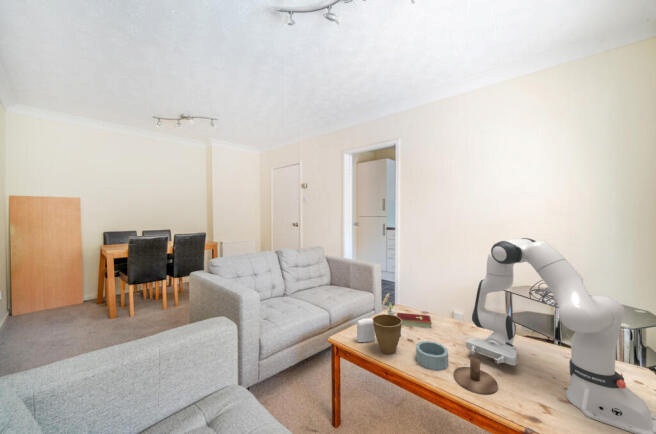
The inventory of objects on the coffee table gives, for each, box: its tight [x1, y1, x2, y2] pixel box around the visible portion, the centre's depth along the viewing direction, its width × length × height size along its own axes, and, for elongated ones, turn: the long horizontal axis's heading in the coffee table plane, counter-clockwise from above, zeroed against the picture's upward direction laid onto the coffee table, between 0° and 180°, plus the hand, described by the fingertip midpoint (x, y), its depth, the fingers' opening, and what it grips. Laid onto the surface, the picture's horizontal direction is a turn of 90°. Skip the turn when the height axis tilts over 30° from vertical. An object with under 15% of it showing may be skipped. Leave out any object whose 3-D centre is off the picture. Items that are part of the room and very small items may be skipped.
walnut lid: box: [453, 356, 499, 396], centre depth 106 cm, size 16×16×9 cm
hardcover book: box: [396, 312, 433, 329], centre depth 162 cm, size 12×21×4 cm, turn 73°
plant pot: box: [372, 313, 403, 355], centre depth 131 cm, size 15×15×16 cm
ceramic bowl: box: [415, 340, 449, 371], centre depth 120 cm, size 14×14×6 cm
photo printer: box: [356, 318, 376, 343], centre depth 141 cm, size 10×4×12 cm, turn 103°
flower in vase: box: [382, 293, 402, 335], centre depth 147 cm, size 13×11×25 cm
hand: (484, 356), depth 113 cm, fingers open, 8 cm apart
